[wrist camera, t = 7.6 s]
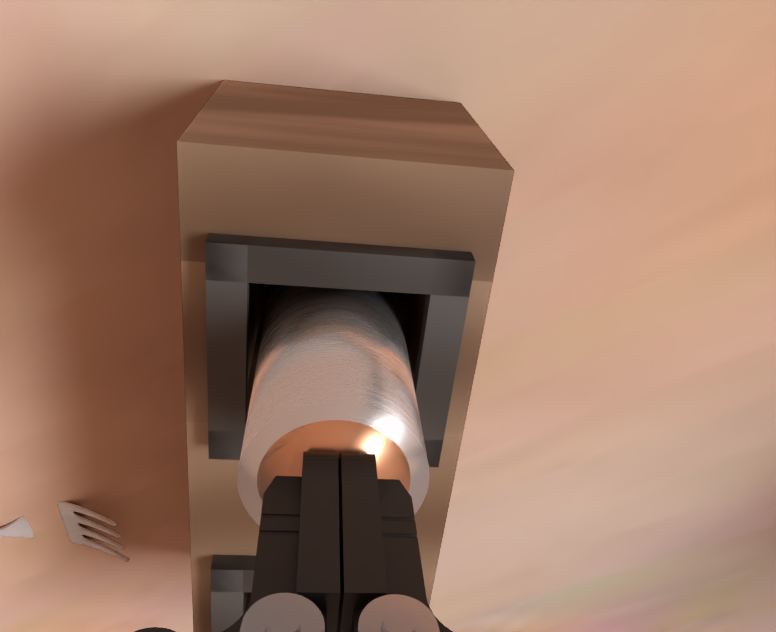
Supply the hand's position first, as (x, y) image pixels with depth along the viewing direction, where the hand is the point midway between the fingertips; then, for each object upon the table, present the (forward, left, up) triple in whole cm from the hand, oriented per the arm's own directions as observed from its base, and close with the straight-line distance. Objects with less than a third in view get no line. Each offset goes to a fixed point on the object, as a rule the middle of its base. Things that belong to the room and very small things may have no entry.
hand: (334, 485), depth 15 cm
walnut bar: (+5, 0, -13) cm, 14 cm away
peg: (0, 0, -9) cm, 9 cm away
